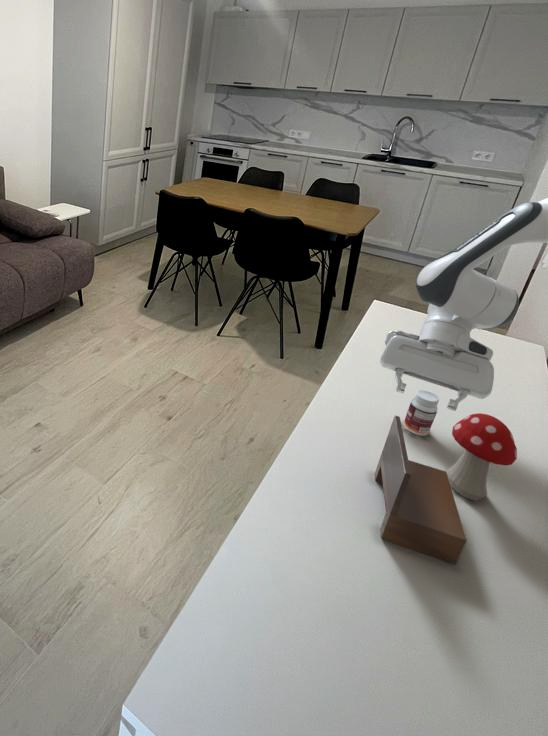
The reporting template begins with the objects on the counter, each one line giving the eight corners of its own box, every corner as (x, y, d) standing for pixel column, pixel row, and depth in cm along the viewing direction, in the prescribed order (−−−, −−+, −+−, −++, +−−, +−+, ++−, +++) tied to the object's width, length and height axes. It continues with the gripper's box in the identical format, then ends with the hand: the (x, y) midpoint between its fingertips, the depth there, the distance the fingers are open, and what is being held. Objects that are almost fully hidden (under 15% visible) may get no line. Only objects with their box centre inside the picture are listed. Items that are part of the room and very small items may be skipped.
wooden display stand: (437, 493, 88) (461, 433, 83) (455, 565, 74) (486, 498, 69) (374, 473, 91) (394, 415, 87) (380, 538, 78) (405, 473, 73)
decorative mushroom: (508, 509, 86) (543, 438, 80) (462, 509, 85) (494, 438, 79) (465, 468, 95) (493, 402, 89) (423, 467, 94) (448, 401, 89)
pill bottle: (403, 419, 108) (415, 386, 105) (429, 428, 106) (441, 395, 103) (401, 429, 105) (413, 396, 102) (427, 439, 102) (440, 405, 99)
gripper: (390, 322, 111) (372, 377, 107) (503, 353, 101) (487, 415, 97) (387, 333, 117) (369, 386, 112) (494, 364, 106) (478, 423, 102)
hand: (424, 400), depth 105 cm, fingers open, 8 cm apart
